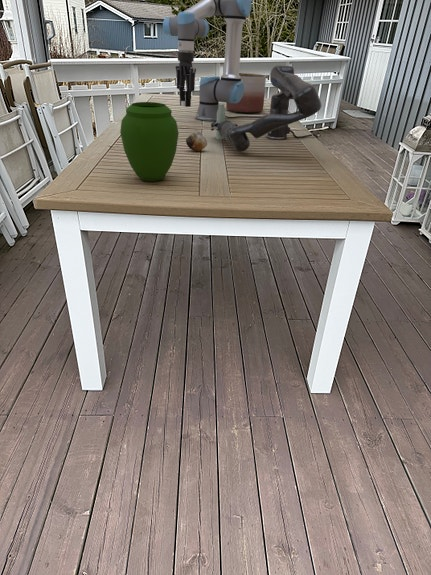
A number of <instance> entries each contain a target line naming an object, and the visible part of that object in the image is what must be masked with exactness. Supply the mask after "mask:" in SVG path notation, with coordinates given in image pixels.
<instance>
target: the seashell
mask: <svg viewBox="0 0 431 575" xmlns="http://www.w3.org/2000/svg"><path fill="white" fill-rule="evenodd" d="M185 143H186V146H187V147H188V148H189V149H190V150H192V151H194V152H197V151H198V152H199V151H201V150H204V149H205V148H206V147H207V146H208V141H207V138H206V137H205V136H204V135H203V134H202V132H201V131H197V132H195V133H192V134H190V135H189V136H188V137H187V138H186V139H185Z"/></svg>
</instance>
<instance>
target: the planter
mask: <svg viewBox="0 0 431 575" xmlns="http://www.w3.org/2000/svg"><path fill="white" fill-rule="evenodd" d="M239 76H240V77H241V82H243V83H244V93H243V97H242V99H241V100H240V101H239V102H238V103H231V104H230V103H226V102H225V108H226V110H228V111H229V112H232V113H238V114H259V113H261V112H262V111H264V104H265V93H266V92H265V91H266V83H267V76H266V75H264V74H261V73H250V72H249V73H248V72H239Z"/></svg>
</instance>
